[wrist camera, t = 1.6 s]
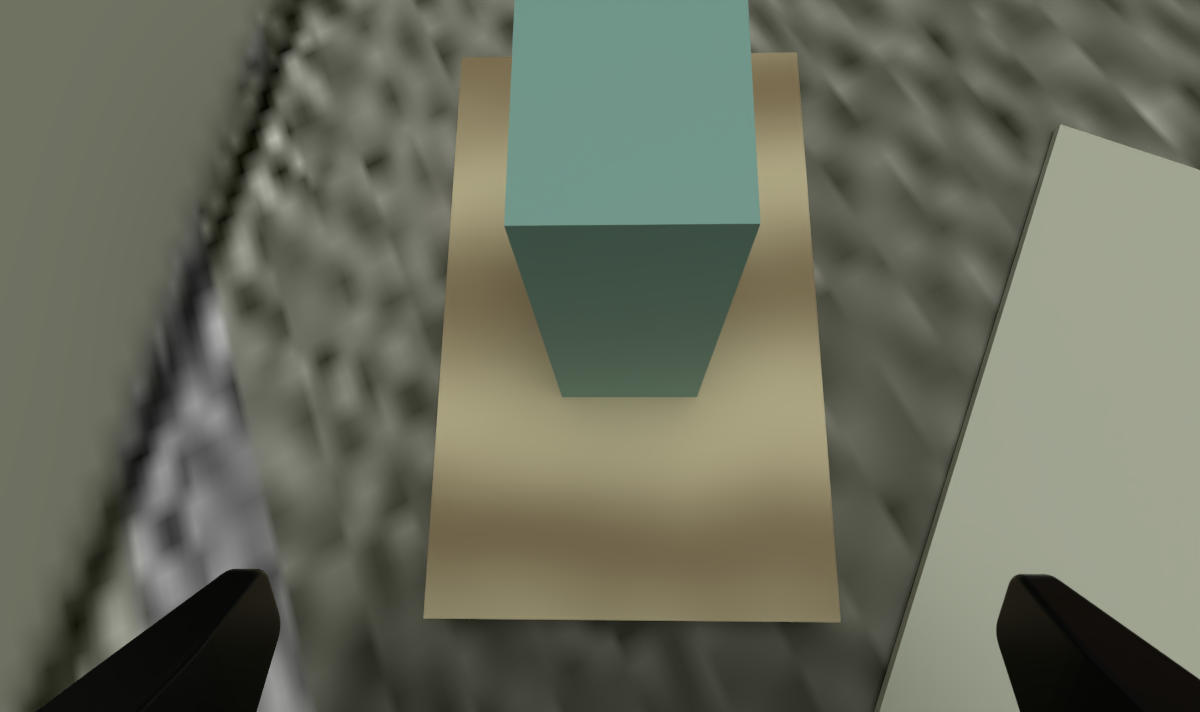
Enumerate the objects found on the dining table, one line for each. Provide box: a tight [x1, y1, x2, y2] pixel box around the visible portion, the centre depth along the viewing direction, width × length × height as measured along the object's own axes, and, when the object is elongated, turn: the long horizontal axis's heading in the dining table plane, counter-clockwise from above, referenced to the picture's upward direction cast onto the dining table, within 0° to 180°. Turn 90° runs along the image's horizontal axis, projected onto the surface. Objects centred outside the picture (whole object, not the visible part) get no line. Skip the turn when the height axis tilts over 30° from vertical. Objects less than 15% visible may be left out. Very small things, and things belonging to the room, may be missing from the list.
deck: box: [423, 53, 841, 622], centre depth 22 cm, size 16×10×3 cm, turn 0°
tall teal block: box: [504, 0, 761, 397], centre depth 16 cm, size 5×4×10 cm
